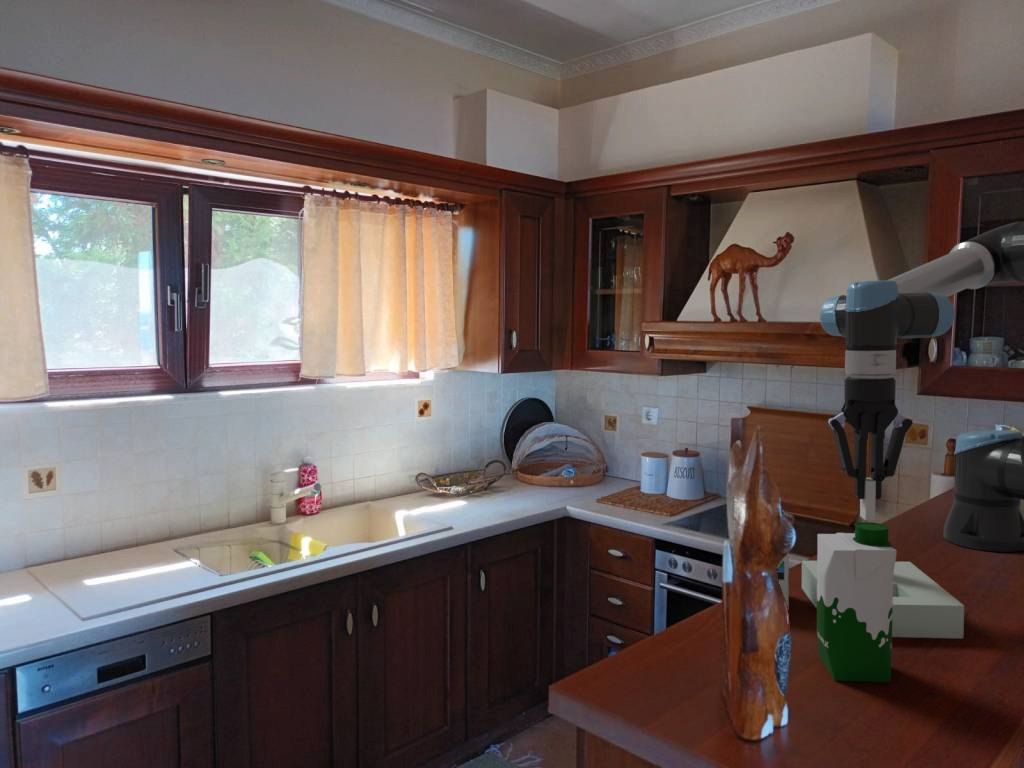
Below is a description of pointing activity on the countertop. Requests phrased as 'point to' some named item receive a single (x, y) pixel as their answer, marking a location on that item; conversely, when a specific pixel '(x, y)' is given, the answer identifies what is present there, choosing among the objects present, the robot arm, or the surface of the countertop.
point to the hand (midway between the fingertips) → (867, 517)
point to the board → (910, 603)
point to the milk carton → (856, 603)
